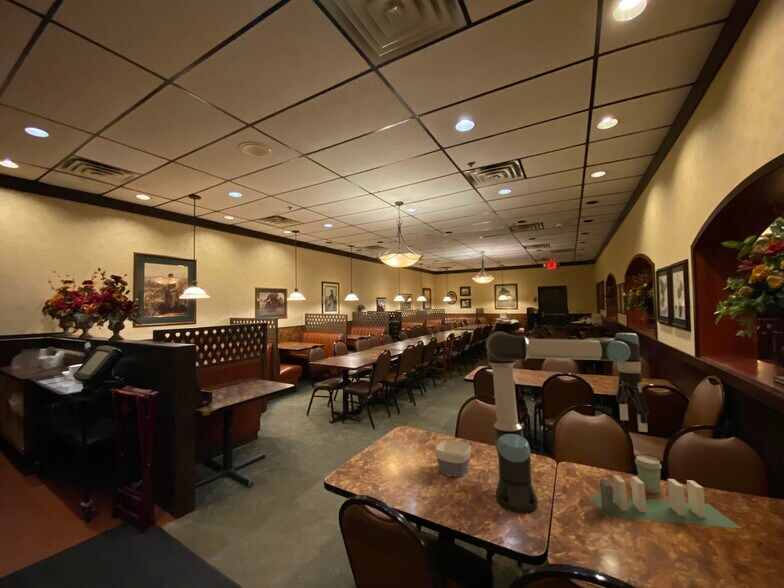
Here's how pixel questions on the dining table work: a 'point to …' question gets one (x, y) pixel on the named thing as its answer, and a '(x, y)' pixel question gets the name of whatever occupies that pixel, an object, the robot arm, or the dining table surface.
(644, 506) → the domino
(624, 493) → the domino
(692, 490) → the domino
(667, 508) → the mat
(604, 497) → the slate domino
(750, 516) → the dining table surface
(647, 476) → the coffee cup
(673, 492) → the domino
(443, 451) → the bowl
